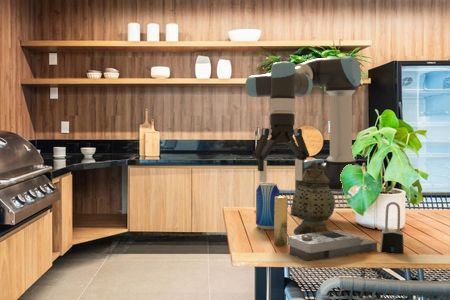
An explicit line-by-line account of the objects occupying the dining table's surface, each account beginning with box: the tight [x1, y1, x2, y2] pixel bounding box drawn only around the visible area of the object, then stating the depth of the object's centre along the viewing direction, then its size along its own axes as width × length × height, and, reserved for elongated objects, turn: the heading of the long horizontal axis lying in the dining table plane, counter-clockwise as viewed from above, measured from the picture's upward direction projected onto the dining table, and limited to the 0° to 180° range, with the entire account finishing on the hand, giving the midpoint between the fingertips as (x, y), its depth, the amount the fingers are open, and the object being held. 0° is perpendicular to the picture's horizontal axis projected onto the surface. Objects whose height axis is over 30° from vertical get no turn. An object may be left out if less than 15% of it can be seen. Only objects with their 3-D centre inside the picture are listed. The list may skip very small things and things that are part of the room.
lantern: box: [292, 162, 336, 235], centre depth 159 cm, size 14×14×25 cm
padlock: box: [379, 201, 405, 255], centre depth 137 cm, size 7×4×15 cm, turn 75°
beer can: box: [255, 182, 280, 230], centre depth 168 cm, size 8×8×16 cm
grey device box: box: [287, 229, 378, 262], centre depth 136 cm, size 26×10×6 cm, turn 119°
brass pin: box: [273, 195, 289, 247], centre depth 144 cm, size 4×4×15 cm
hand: (281, 181), depth 143 cm, fingers open, 13 cm apart
